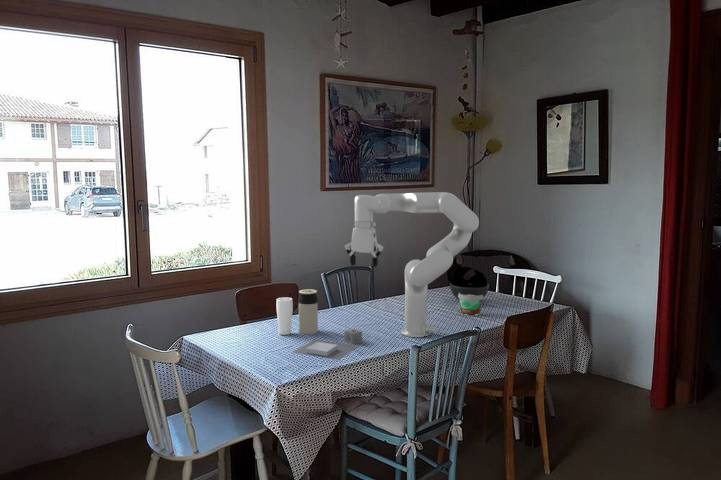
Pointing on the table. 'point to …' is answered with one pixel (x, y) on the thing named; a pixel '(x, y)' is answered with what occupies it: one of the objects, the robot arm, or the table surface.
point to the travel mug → (308, 312)
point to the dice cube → (353, 336)
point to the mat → (338, 354)
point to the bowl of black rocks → (468, 283)
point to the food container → (470, 303)
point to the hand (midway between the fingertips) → (363, 265)
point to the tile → (321, 349)
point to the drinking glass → (284, 315)
